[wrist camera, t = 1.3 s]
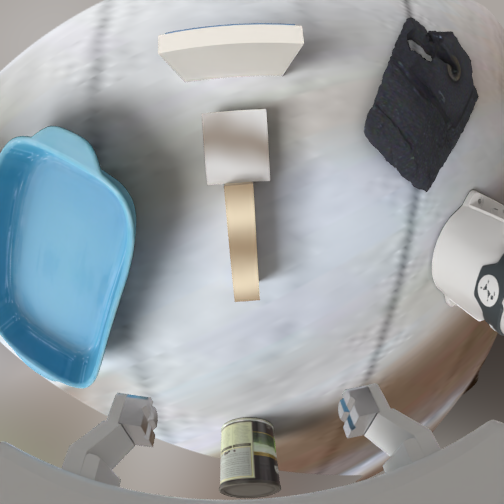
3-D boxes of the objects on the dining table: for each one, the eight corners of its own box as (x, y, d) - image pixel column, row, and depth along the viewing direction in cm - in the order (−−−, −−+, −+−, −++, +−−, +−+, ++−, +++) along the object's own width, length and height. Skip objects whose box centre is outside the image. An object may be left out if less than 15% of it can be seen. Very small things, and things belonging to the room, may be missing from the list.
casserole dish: (41, 106, 22) (4, 104, 16) (183, 171, 27) (166, 179, 21) (9, 315, 34) (-11, 337, 27) (105, 376, 38) (92, 407, 32)
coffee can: (279, 417, 43) (288, 482, 30) (267, 441, 47) (273, 497, 34) (223, 414, 42) (221, 482, 29) (218, 439, 46) (217, 497, 33)
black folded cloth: (335, 123, 26) (352, 120, 22) (408, 12, 20) (427, 1, 15) (422, 201, 30) (444, 210, 25) (478, 89, 23) (499, 88, 19)
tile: (184, 66, 23) (158, 32, 13) (281, 60, 23) (301, 22, 14) (184, 82, 23) (158, 53, 14) (282, 76, 24) (304, 44, 14)
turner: (271, 280, 32) (275, 298, 29) (220, 284, 32) (218, 302, 28) (263, 112, 25) (267, 106, 21) (204, 116, 25) (199, 111, 21)
